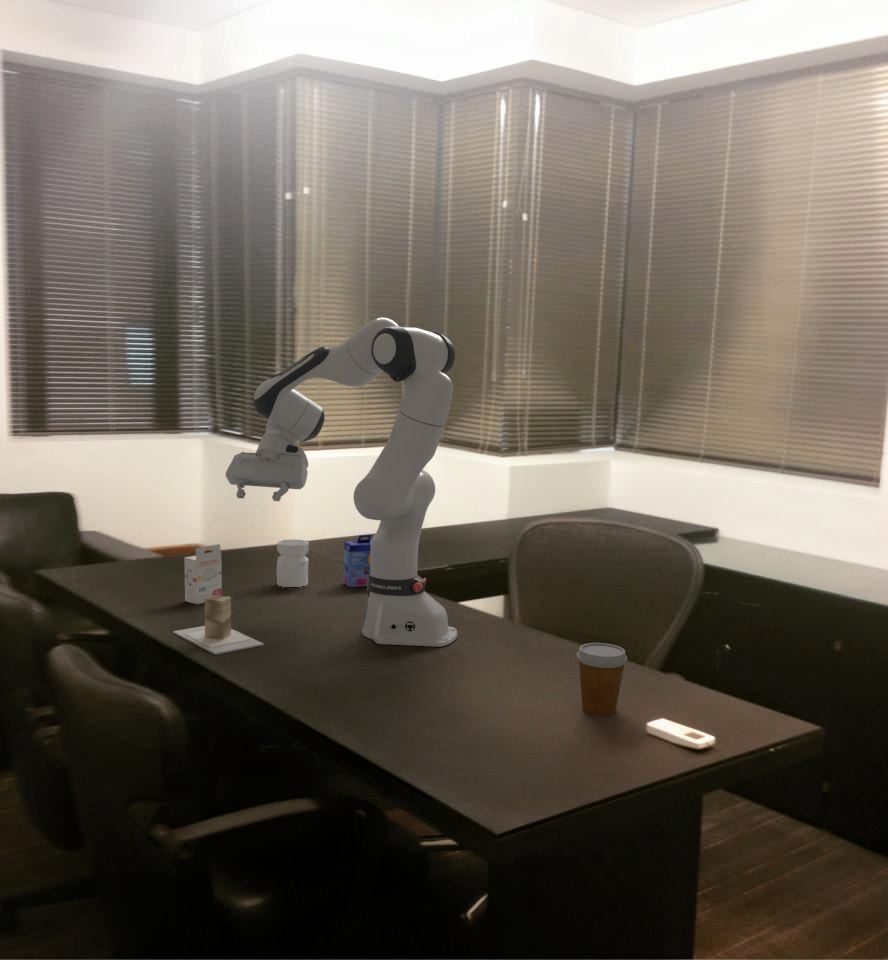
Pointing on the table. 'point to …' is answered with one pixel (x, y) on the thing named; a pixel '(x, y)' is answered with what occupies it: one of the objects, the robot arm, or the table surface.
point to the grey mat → (215, 645)
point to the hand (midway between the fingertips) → (257, 498)
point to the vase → (292, 563)
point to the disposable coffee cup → (600, 677)
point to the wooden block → (217, 617)
